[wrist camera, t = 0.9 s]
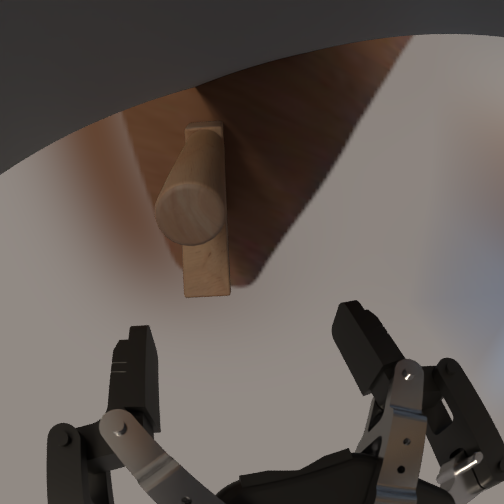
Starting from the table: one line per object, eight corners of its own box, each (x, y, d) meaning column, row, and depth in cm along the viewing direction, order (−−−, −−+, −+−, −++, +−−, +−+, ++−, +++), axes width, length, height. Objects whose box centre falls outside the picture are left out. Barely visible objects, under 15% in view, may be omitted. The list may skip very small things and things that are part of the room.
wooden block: (196, 214, 33) (180, 337, 18) (187, 122, 27) (144, 182, 12) (227, 212, 33) (235, 335, 19) (223, 120, 27) (224, 175, 13)
